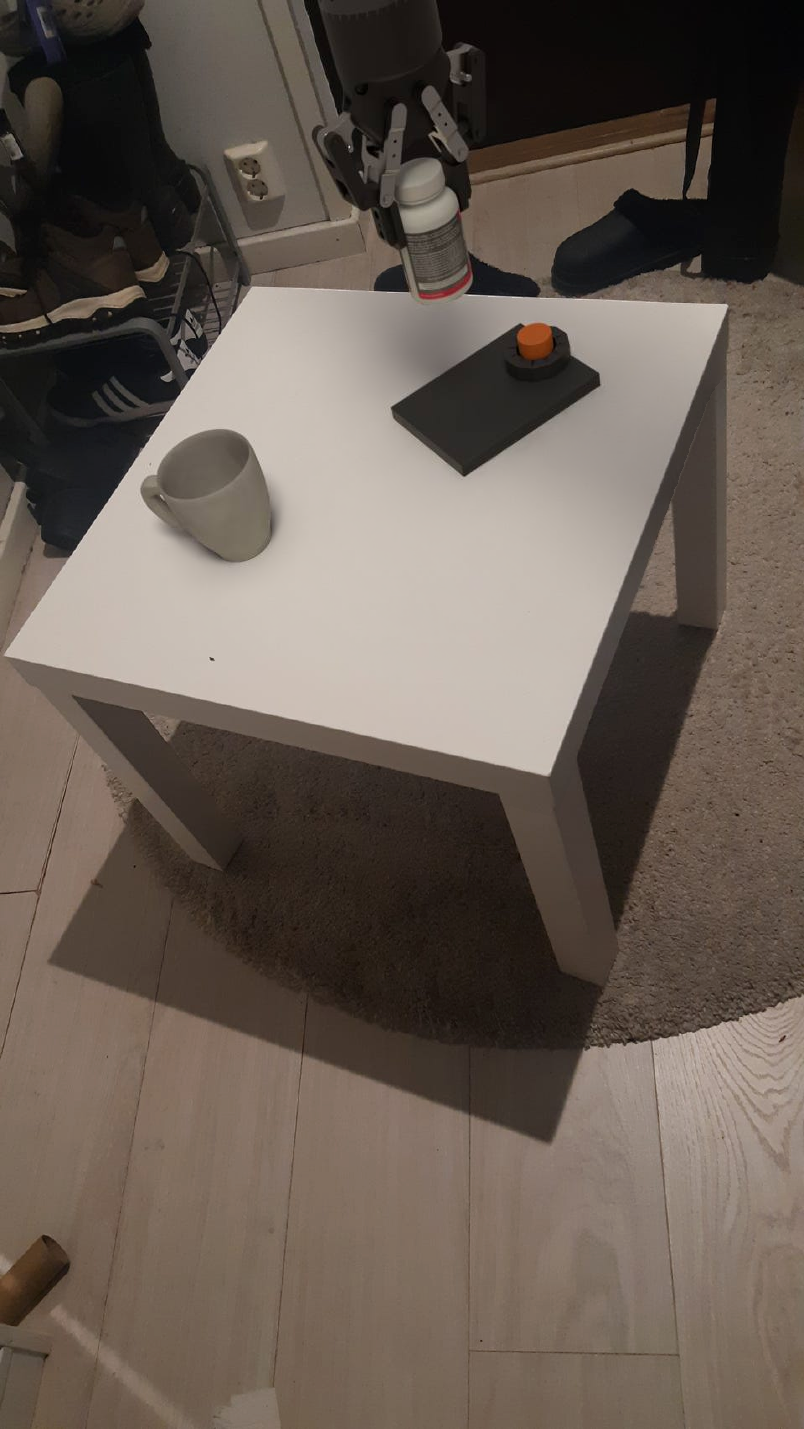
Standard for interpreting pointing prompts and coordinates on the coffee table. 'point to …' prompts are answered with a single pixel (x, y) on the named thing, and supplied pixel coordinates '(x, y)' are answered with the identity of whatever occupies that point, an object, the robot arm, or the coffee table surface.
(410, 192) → the pill bottle
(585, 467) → the coffee table surface
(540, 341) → the button
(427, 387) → the scale
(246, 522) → the mug
